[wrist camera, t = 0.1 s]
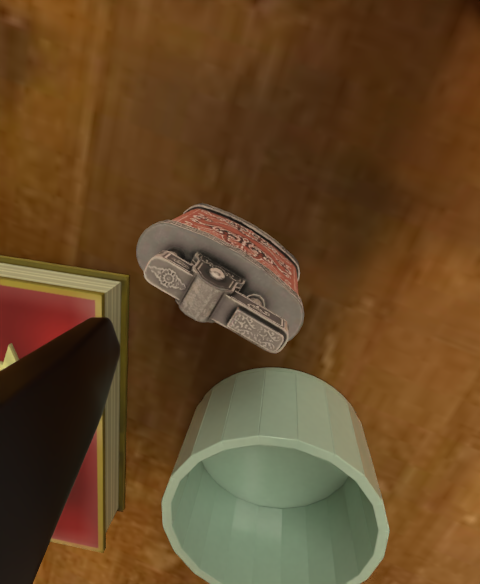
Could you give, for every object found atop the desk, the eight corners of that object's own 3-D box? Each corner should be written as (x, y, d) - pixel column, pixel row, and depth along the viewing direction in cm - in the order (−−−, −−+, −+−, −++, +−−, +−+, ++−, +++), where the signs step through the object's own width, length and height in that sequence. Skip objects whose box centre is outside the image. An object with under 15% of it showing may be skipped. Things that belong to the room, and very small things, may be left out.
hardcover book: (-7, 481, 33) (-47, 524, 29) (-39, 248, 26) (-98, 264, 22) (124, 507, 32) (101, 556, 28) (129, 275, 25) (99, 296, 21)
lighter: (172, 238, 24) (96, 288, 14) (197, 190, 22) (131, 211, 13) (281, 302, 24) (276, 392, 15) (310, 259, 23) (325, 326, 14)
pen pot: (285, 532, 31) (284, 633, 24) (159, 444, 29) (122, 526, 23) (402, 440, 26) (440, 532, 20) (262, 332, 25) (252, 392, 18)
